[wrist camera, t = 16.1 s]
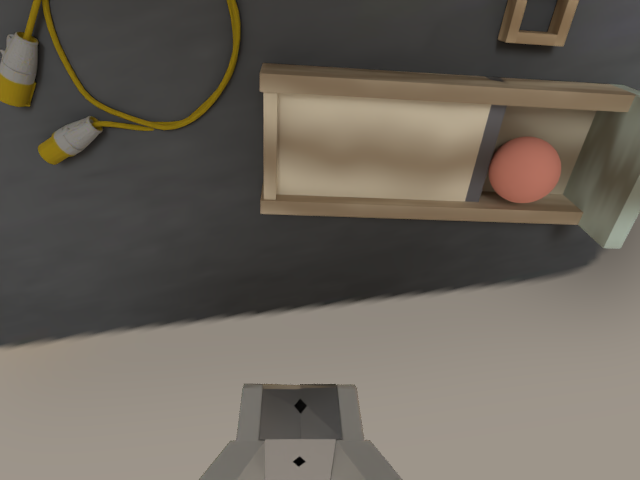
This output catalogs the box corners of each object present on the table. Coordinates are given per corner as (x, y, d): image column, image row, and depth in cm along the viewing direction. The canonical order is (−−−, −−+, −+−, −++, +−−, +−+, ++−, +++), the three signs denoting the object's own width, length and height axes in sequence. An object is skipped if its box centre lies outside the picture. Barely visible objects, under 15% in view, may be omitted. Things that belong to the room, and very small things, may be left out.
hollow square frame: (515, -29, 25) (524, -29, 24) (575, -25, 25) (587, -24, 24) (497, 39, 27) (505, 42, 26) (553, 43, 27) (563, 46, 26)
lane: (262, 62, 27) (255, 86, 22) (622, 84, 29) (692, 111, 24) (263, 193, 32) (257, 237, 27) (571, 205, 34) (620, 248, 29)
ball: (519, 121, 30) (487, 134, 28) (583, 143, 28) (555, 159, 25) (499, 178, 33) (468, 194, 30) (556, 202, 30) (528, 223, 28)
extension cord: (-71, -47, 24) (-99, -48, 22) (213, -107, 23) (206, -112, 21) (43, 161, 30) (28, 173, 28) (266, 120, 29) (265, 129, 28)
